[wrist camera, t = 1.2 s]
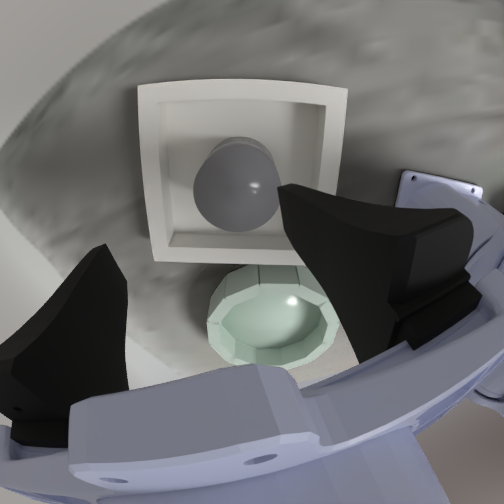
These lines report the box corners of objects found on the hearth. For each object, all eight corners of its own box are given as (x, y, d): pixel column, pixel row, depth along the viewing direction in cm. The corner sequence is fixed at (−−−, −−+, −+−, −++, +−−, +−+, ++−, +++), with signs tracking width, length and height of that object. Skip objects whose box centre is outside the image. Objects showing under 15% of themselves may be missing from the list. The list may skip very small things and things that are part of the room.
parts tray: (334, 89, 16) (347, 89, 13) (315, 245, 22) (323, 265, 20) (153, 85, 16) (137, 85, 13) (163, 241, 22) (154, 261, 20)
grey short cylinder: (277, 137, 17) (284, 151, 13) (273, 203, 19) (278, 233, 16) (204, 136, 17) (191, 149, 13) (206, 201, 19) (195, 231, 16)
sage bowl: (341, 262, 23) (351, 284, 20) (318, 347, 29) (322, 369, 26) (207, 258, 23) (202, 281, 20) (214, 346, 29) (212, 369, 26)
